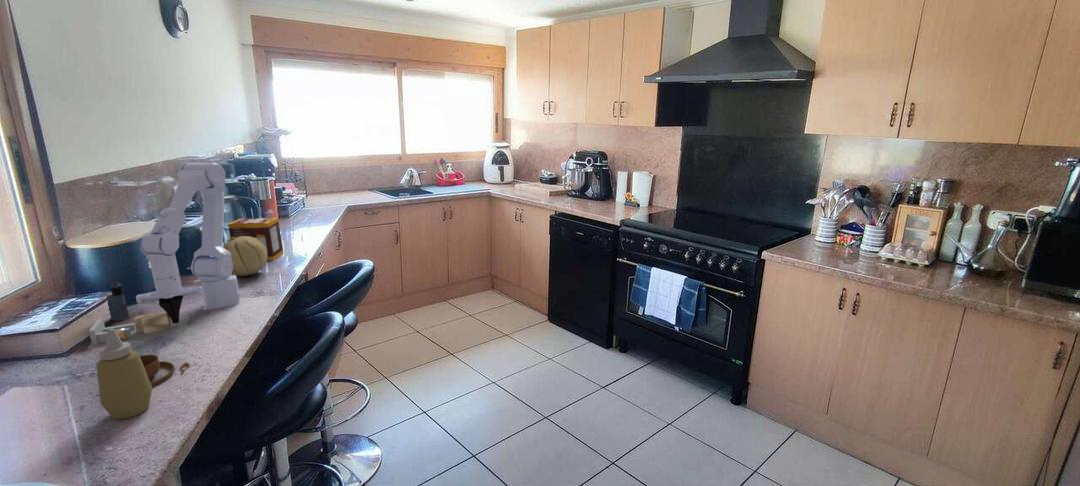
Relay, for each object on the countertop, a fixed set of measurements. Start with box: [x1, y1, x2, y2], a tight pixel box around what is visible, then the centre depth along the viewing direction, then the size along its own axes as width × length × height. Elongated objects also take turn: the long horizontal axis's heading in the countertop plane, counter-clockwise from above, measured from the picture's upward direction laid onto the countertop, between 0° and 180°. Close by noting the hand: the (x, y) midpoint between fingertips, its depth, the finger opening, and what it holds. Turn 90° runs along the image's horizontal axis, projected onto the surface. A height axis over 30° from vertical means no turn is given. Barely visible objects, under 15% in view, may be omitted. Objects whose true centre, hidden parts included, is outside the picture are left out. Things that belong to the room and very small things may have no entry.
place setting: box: [120, 338, 191, 387], centre depth 114 cm, size 18×20×6 cm
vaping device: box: [105, 281, 130, 322], centre depth 140 cm, size 3×5×12 cm, turn 78°
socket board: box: [86, 315, 191, 350], centre depth 133 cm, size 20×12×5 cm, turn 119°
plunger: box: [115, 328, 126, 340], centre depth 129 cm, size 3×4×2 cm
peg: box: [133, 310, 172, 334], centre depth 134 cm, size 8×4×4 cm, turn 119°
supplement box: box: [227, 217, 284, 261], centre depth 200 cm, size 10×15×16 cm
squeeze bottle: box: [96, 329, 153, 420], centre depth 97 cm, size 8×8×18 cm
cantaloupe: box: [223, 236, 268, 277], centre depth 179 cm, size 15×15×15 cm
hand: (176, 322), depth 137 cm, fingers closed
